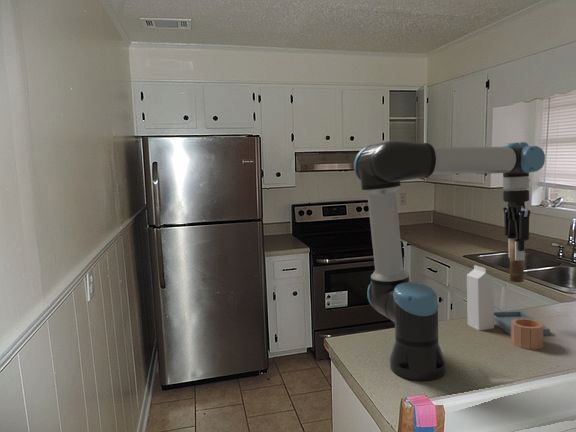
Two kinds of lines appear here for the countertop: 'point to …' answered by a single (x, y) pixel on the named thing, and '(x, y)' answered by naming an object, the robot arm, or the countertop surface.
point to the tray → (506, 317)
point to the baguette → (515, 265)
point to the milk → (480, 299)
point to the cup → (527, 333)
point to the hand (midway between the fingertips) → (516, 258)
